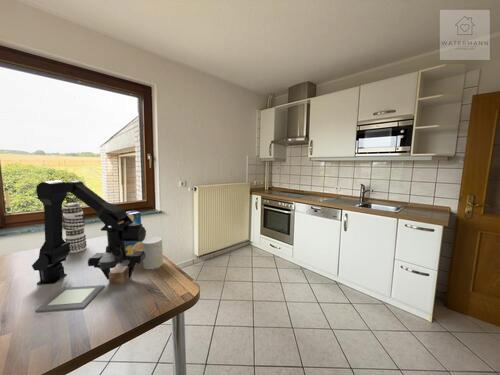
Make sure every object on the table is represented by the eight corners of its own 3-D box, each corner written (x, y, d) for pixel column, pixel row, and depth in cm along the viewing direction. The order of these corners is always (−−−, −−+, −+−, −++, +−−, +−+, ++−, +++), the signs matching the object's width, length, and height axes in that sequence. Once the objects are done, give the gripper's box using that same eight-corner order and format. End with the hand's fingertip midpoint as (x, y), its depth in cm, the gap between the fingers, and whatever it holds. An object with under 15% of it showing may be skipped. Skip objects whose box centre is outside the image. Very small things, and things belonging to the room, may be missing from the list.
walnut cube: (109, 285, 80) (108, 273, 79) (116, 278, 85) (115, 266, 84) (123, 284, 81) (122, 272, 80) (129, 277, 85) (128, 266, 85)
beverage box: (143, 254, 106) (140, 212, 103) (119, 263, 97) (116, 217, 94) (136, 251, 110) (133, 210, 107) (113, 259, 101) (109, 214, 98)
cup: (155, 270, 91) (154, 244, 89) (139, 268, 92) (137, 242, 91) (166, 261, 99) (165, 237, 97) (151, 260, 100) (150, 236, 99)
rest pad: (35, 311, 66) (35, 309, 66) (64, 288, 77) (63, 287, 77) (83, 308, 67) (83, 306, 67) (104, 286, 79) (104, 284, 79)
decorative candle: (87, 244, 118) (83, 201, 115) (88, 249, 111) (83, 203, 108) (66, 248, 112) (61, 203, 109) (65, 254, 105) (59, 206, 102)
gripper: (75, 250, 71) (80, 293, 73) (133, 248, 74) (136, 289, 76) (95, 238, 82) (98, 275, 84) (145, 237, 85) (147, 273, 87)
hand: (119, 278), depth 83 cm, fingers open, 8 cm apart
